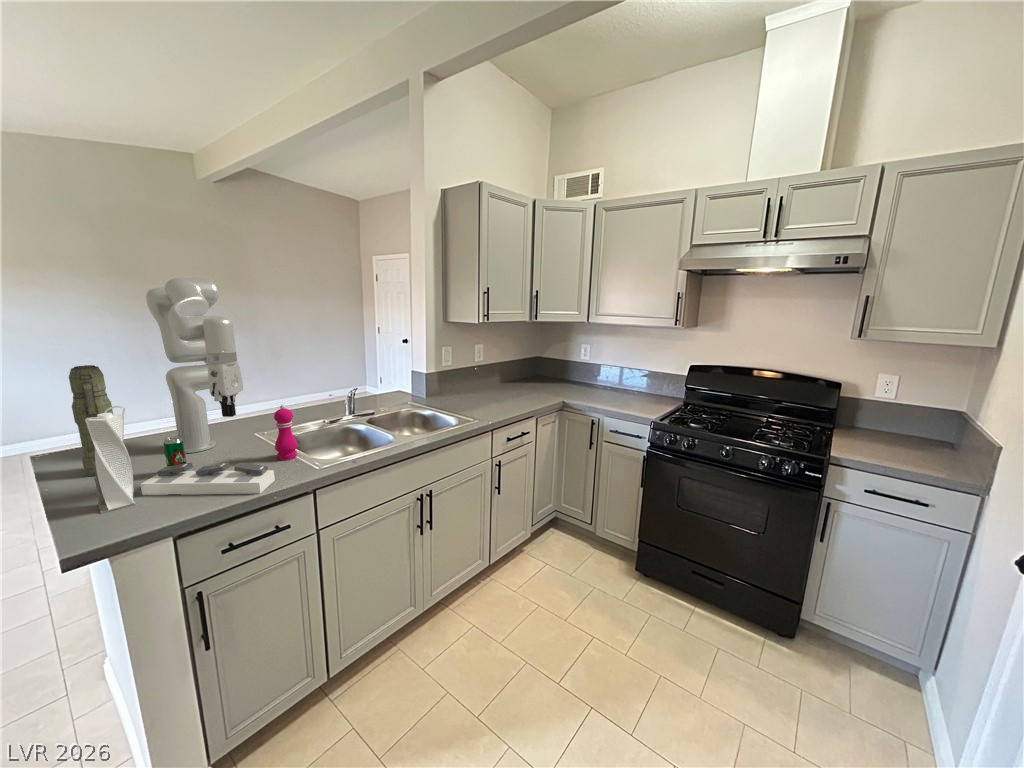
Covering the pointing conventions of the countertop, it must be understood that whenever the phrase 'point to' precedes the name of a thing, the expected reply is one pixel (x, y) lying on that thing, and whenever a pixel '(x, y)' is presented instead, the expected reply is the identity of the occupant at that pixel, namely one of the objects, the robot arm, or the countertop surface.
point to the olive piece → (88, 406)
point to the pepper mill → (285, 434)
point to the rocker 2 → (251, 468)
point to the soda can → (174, 451)
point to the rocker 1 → (174, 469)
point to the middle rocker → (212, 469)
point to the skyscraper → (111, 461)
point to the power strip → (208, 483)
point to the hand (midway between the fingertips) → (229, 415)
